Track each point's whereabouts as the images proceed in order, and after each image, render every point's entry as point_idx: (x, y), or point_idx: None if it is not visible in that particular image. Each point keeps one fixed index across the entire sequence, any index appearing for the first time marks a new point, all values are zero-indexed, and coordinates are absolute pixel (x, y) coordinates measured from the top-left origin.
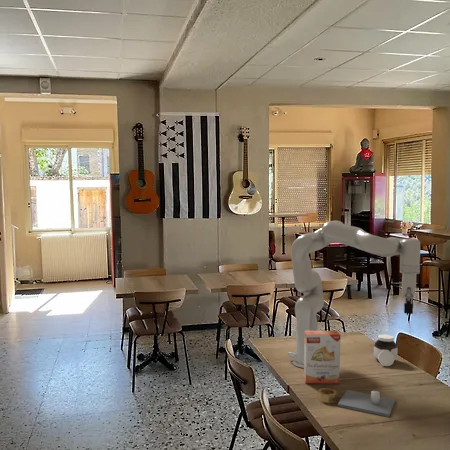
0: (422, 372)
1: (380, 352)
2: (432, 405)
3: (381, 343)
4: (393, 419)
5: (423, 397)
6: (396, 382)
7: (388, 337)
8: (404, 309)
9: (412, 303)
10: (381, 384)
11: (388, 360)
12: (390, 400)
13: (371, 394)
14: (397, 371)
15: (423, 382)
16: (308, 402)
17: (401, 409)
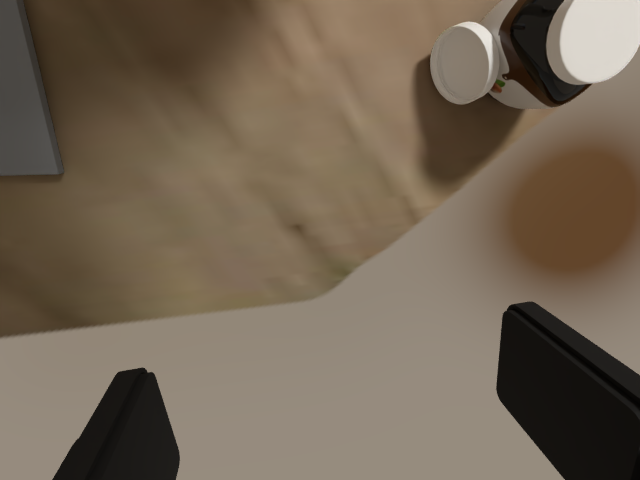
0: (420, 217)
1: (482, 28)
2: (123, 287)
3: (536, 18)
4: None
5: (175, 254)
6: (268, 144)
7: (587, 51)
8: (92, 419)
9: (550, 453)
10: (211, 89)
11: (462, 77)
12: (29, 159)
13: None
14: (394, 128)
15: (319, 234)
16: None
17: (8, 204)
